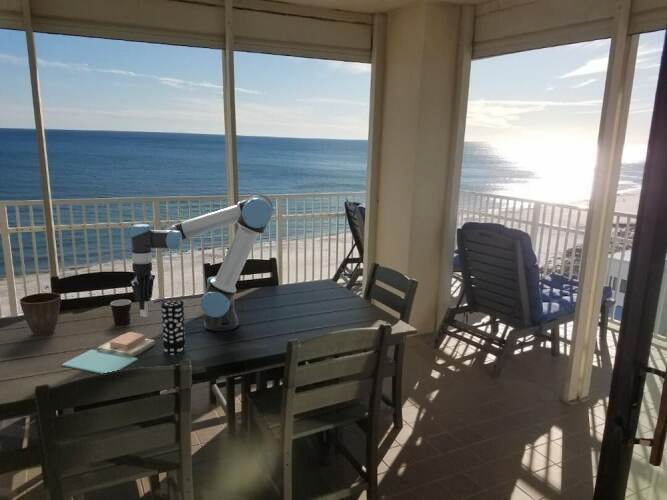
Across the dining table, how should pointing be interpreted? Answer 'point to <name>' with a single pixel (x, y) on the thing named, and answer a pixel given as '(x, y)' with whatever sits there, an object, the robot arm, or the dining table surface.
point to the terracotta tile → (127, 340)
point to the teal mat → (99, 361)
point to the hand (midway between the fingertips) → (144, 315)
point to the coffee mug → (121, 312)
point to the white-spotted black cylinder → (173, 327)
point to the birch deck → (127, 352)
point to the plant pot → (41, 312)
